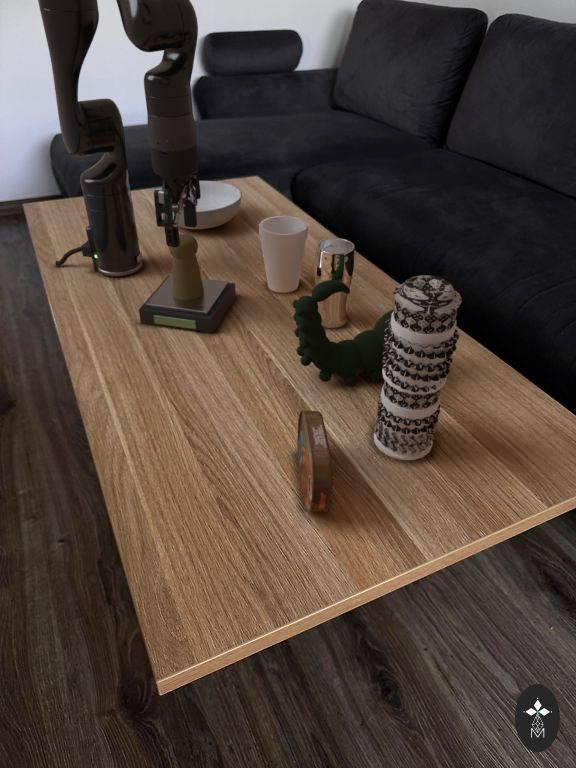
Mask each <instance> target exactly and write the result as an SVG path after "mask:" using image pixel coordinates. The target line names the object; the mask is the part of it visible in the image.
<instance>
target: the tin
mask: <svg viewBox="0 0 576 768" xmlns="http://www.w3.org/2000/svg"><path fill="white" fill-rule="evenodd" d="M296 439H297V442H296V443H297V444H296V448H297V449H296V451H297V461H298V468H299V470H298V471H299V475H300V484H301V490H302V497H303V503H304V507H305V511H306V512H307V513H310V512H326V511H328V510H329V509H330V502H331V501H330V500H331V495H332V491H333V487H334V486H333V484H334V473H333V472H334V471H333V461H332V454H331V449H330V445H329V439H328V434H327V430H326V425H325V422H324V417H323V414H322V413H321V411H318V410H303V409H301V410H300V411H299V415H298V421H297V438H296Z"/></svg>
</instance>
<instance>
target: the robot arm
mask: <svg viewBox="0 0 576 768" xmlns="http://www.w3.org/2000/svg"><path fill="white" fill-rule="evenodd" d="M37 2H38V7H39V12H40V16H41V21H42V26H43V29H44V34H45V38H46V43H47V47H48V53H49V58H50V64H51V70H52V76H53V77H52V78H53V82H54V83H53V84H54V93H55V100H56V107H57V115H58V121H59V126H60V132H61V133H60V134H61V137H62V140H63V143H64V146H65V148H66V150H67V152H68V153H69V154H70V155H71V156H73V157H87V156H95V155H102V154H103V155H102V157H101V158H100V159H99V160H98V162H97V163H95V164H94V165H93V166H91V167H89V168H87V169H86V170H85V171H83V172H82V173H81V174H80V178H79V181H80V187H81V192H82V197H83V201H84V206H85V211H86V215H87V220H88V221H87V222H88V226H87V227H86V228H85V233H86V237H87V241H85V242H84V243H83V244H81V246H79V247H75V248H72V249H70V250H68V251H66V252H64V254H63V256H62V257H61V258H60V259H59V260H56V261H55V266H56V267H58V266H62V265H64V264H65V263H66V262H67V260H68V259H69V258H70V257H71V256H72V255H75V254H77V253H82V256H83V257H86V258H91V260H92V266H93V270H94V271H95V272H98V273H100V274H101V275H103V276H106V277H114V278H117V277H119V278H120V277H125V276H131V275H133V274H135V273H137V272H139V271H140V270H141V269H142V268H143V251H142V250H140V249H141V248H140V243H139V235H138V229H137V223H136V216H135V211H134V203H133V198H132V192H131V191H132V190H131V184H130V177H129V165H128V159H127V150H126V149H127V148H126V139H125V130H124V124H123V118H122V114H121V111H120V109H119V107H118V105H117V104H116V102H115V101H114V99H111V98H96V99H86V100H79V83H80V81H79V80H80V76H81V71H82V68H83V65H84V62H85V60H86V57H87V54H88V52H89V51H90V48H91V45H92V43H93V41H94V39H95V36H96V33H97V30H98V26H99V21H100V11H99V2H98V0H37ZM115 2H116V4H117V8H118V12H119V15H120V20H121V23H122V24H121V25H122V27H123V30H124V33H125V35H126V37H127V39H128V40H129V42H130V43H131V44H132V45H133V46H134V47H136V49H138V50H139V51H141V52H144V53H156V52H162V51H163V53H162V58H161V61H160V62H159V63H158V64H157V65H155V66H154V67H152V68H150V69H148V70H147V71H146V72H145V73H144V75H143V89H144V96H145V106H146V114H147V117H146V118H147V122H146V123H147V127H146V128H147V134H148V135H147V136H148V143H149V151H150V159H151V167H152V171H153V173H154V174H156V175H157V176H159V177H160V178H161V179H162V185H161V189H154V191H153V200H154V201H153V202H154V211H155V218H156V219H155V221H156V222H155V223H156V226H157V228H158V227H159V228H164V236H165V243H166V246H167V247H168V248H169V247H176V248H177V247H178V246H179V245H180V238H179V235H180V228H179V227H178V219H179V215H180V214H182V212H183V213H184V223H185V226H186V227H193V228H194V227H196V226H197V214H196V207H195V206H197V204H198V202H197V199H200V197H201V193H200V183H199V181H200V175H199V174H200V173H199V167H200V165H199V155H198V153H199V152H198V141H197V129H196V122H195V117H194V110H193V99H192V98H193V96H192V86H191V81H192V75H193V71H194V62H195V56H196V49H197V44H198V36H199V23H198V17H197V13H196V10H195V7H194V5H193V4H192V2H191V0H115ZM193 186H194V187H195V189H194V187H193ZM183 205H185V206H183ZM172 206H177V207H172ZM161 213H163V215H162V214H161ZM173 213H174V216H173Z"/></svg>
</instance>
